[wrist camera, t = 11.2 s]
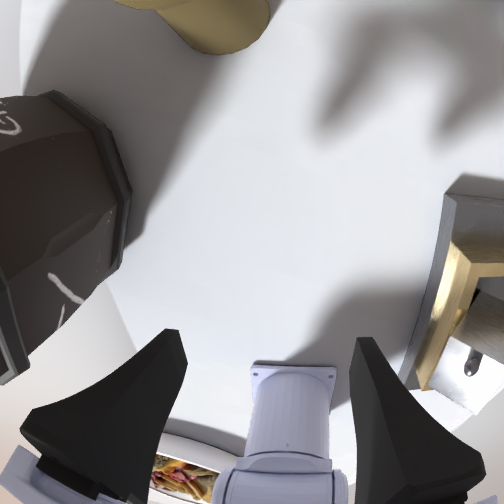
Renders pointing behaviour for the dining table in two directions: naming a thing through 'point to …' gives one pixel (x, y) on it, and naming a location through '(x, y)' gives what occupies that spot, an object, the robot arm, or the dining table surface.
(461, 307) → the wooden cabinet body
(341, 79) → the dining table surface
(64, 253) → the barrel
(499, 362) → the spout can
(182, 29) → the pepper shaker
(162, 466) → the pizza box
